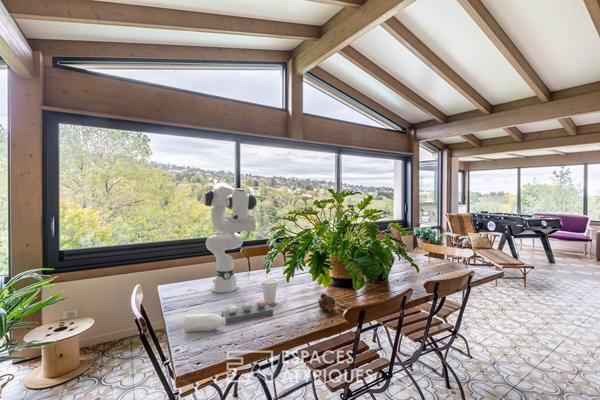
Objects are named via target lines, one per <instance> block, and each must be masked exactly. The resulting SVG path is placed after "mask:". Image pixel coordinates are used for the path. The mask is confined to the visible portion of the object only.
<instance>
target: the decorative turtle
mask: <svg viewBox="0 0 600 400" xmlns="http://www.w3.org/2000/svg"><path fill="white" fill-rule="evenodd" d="M318 305H319V307H320V310H321V311H322V312H323V313H325V312H326V311H328V312H330V313H333V312H334V311H335V306H336V301H335V299H334V298H333V297H332V296H328V295H327V294H326V293H324V292H323V293H321V294H320V297H319V299H318Z"/></svg>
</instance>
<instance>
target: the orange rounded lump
mask: <svg viewBox="0 0 600 400" xmlns="http://www.w3.org/2000/svg"><path fill="white" fill-rule="evenodd" d="M265 304H266V303H265V301H264V300H258V301H257V302H256V305H257V306H258V307H259V309H264V306H265Z"/></svg>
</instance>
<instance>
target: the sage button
mask: <svg viewBox="0 0 600 400" xmlns="http://www.w3.org/2000/svg"><path fill="white" fill-rule="evenodd" d="M252 306H253V304H252V303H251V302H246V303H243V305H242V308H243V309H244V310H245V312H249V311H250V309H251V308H252Z"/></svg>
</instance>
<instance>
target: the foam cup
mask: <svg viewBox="0 0 600 400" xmlns="http://www.w3.org/2000/svg"><path fill="white" fill-rule="evenodd" d="M261 286H262V293H263V301H265V304H266V303H267V304H268V305H270V304H274V303H275V302H276V295H277V287H278V280H277V279H276V278H265V279H263V280H261Z"/></svg>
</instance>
